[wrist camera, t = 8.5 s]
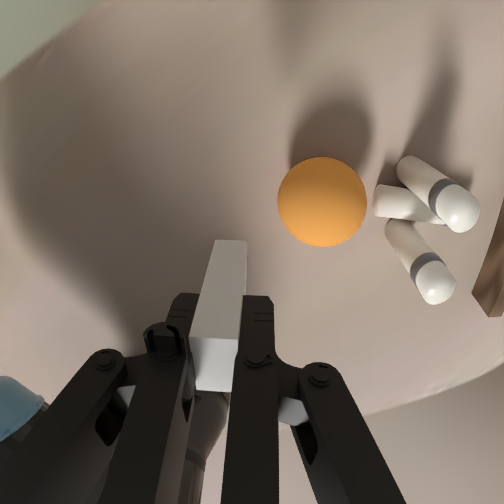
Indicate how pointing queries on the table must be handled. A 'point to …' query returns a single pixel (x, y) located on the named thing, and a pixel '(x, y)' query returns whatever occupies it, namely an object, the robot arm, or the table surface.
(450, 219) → the pin
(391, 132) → the table surface
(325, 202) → the ball
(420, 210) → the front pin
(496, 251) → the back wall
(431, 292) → the pin
